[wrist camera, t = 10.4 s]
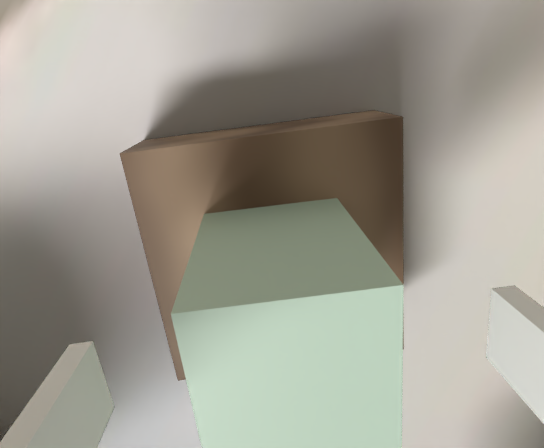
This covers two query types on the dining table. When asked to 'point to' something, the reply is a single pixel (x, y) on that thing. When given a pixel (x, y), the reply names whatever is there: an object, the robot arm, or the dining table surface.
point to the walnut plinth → (264, 186)
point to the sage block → (291, 331)
